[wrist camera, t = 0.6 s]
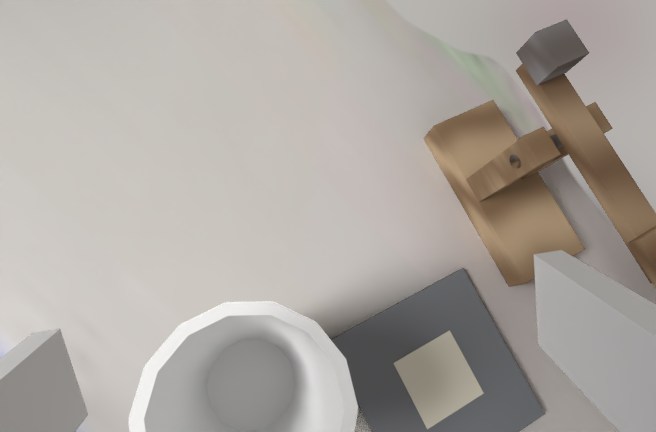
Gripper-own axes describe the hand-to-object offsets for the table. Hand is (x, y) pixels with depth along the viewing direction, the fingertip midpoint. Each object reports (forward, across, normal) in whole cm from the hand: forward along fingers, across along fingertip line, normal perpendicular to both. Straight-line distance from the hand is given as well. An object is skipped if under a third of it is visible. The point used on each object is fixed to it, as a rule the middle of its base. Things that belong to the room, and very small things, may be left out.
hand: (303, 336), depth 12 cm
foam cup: (+17, -6, -12) cm, 21 cm away
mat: (+18, +7, -14) cm, 24 cm away
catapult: (+25, +15, -5) cm, 30 cm away
